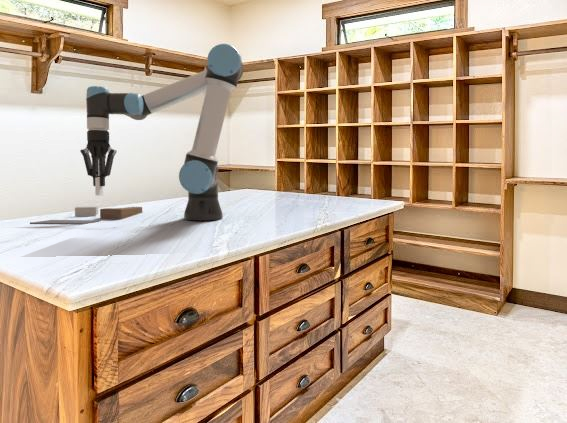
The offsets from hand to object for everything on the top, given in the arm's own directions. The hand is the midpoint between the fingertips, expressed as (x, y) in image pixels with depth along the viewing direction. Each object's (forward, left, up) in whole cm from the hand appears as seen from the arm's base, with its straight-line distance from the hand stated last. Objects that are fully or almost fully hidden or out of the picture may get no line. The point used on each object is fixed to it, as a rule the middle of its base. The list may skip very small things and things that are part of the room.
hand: (99, 195), depth 174 cm
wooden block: (+2, -11, -8) cm, 14 cm away
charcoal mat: (+13, 0, -10) cm, 17 cm away
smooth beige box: (+16, -20, -10) cm, 28 cm away
